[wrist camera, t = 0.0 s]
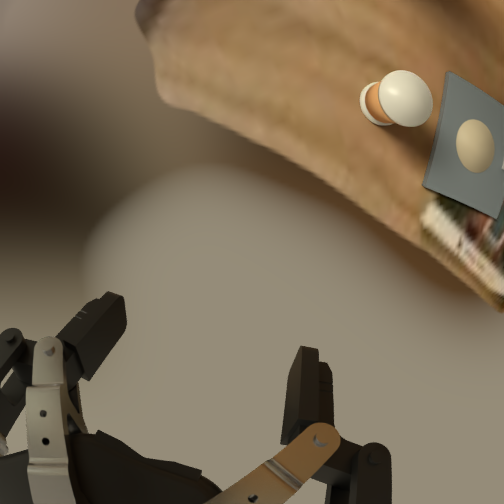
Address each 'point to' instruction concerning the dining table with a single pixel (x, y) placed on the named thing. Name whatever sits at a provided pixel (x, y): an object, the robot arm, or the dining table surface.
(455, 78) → the stand
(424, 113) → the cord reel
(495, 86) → the dining table surface
